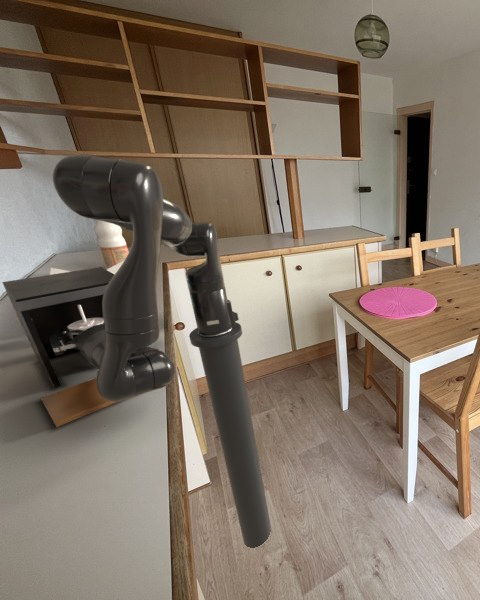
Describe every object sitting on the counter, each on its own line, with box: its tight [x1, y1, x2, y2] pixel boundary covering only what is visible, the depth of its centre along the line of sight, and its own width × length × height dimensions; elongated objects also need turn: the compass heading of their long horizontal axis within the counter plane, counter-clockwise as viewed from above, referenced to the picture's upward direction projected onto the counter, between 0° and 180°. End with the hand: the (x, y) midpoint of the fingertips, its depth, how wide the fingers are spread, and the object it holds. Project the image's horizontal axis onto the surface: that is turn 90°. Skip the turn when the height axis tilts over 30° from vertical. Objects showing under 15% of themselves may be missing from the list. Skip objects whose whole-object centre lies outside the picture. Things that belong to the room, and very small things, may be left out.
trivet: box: [40, 377, 119, 428], centre depth 66 cm, size 12×12×1 cm
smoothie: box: [67, 305, 104, 364], centre depth 72 cm, size 6×6×14 cm
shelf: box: [2, 266, 115, 389], centre depth 76 cm, size 17×17×21 cm
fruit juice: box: [94, 220, 129, 270], centre depth 144 cm, size 9×9×28 cm
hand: (85, 325), depth 73 cm, fingers closed on smoothie, 6 cm apart
